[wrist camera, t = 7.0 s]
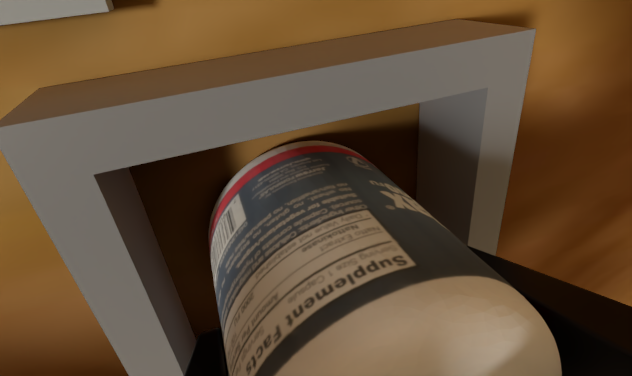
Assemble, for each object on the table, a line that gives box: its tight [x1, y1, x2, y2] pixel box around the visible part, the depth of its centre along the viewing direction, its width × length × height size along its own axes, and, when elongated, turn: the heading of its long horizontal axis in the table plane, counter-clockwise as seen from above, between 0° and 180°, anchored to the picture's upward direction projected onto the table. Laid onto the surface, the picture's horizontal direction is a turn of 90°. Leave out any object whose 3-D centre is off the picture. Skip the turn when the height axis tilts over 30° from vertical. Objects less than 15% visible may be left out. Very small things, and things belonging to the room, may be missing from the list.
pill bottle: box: [208, 141, 562, 376], centre depth 7 cm, size 5×5×9 cm
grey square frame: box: [0, 19, 536, 376], centre depth 10 cm, size 10×10×2 cm
